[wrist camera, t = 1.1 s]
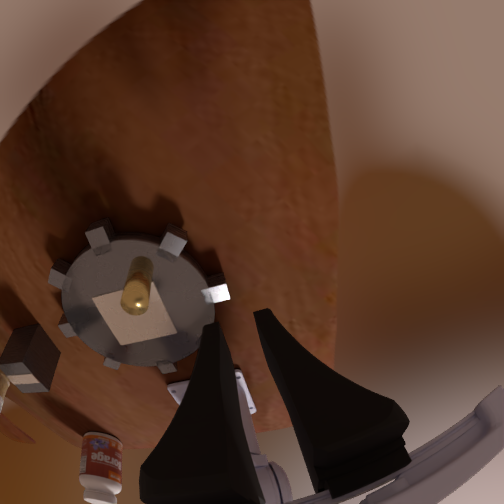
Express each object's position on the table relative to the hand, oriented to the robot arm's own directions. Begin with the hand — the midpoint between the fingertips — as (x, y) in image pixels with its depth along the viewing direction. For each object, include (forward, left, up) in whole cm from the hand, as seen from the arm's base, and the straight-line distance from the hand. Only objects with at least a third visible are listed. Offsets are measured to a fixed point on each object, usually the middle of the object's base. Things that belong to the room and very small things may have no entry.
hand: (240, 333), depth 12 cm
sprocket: (-4, +8, -10) cm, 13 cm away
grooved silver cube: (-6, +21, -10) cm, 24 cm away
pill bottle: (-27, +26, -10) cm, 38 cm away
